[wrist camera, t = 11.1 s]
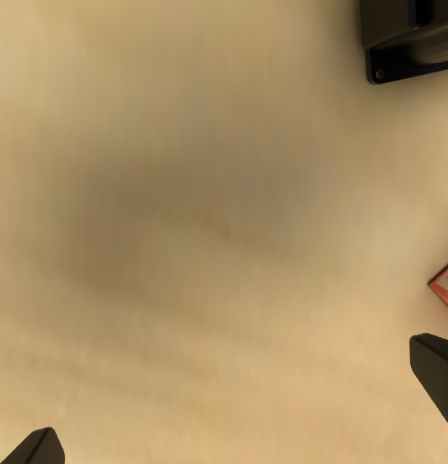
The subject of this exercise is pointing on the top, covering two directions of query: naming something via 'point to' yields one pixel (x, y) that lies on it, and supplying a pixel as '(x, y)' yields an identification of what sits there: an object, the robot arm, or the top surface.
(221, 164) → the top surface
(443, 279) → the cracker box
